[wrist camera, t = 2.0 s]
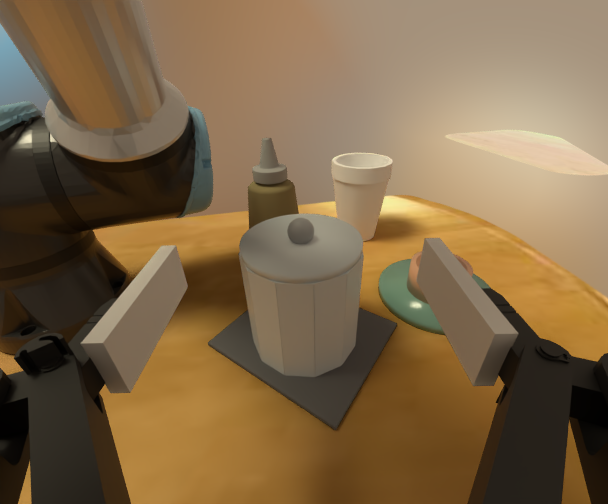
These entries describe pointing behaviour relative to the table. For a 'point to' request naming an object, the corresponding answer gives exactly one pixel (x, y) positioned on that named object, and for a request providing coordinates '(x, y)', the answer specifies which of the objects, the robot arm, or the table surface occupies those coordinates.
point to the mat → (312, 390)
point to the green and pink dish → (412, 293)
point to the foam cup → (360, 189)
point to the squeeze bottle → (270, 188)
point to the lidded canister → (302, 291)
